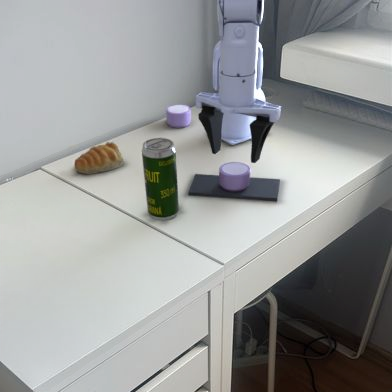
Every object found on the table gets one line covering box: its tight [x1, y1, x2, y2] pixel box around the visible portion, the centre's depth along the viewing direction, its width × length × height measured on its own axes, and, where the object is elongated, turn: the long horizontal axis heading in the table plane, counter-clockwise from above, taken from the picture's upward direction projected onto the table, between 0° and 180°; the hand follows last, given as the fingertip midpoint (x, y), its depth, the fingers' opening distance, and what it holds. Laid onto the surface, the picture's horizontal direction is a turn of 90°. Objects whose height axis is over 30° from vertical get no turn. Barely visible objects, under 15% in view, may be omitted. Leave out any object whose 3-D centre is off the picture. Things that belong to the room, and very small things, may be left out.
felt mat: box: [187, 173, 281, 202], centre depth 92 cm, size 16×7×1 cm, turn 80°
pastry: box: [74, 141, 125, 175], centre depth 99 cm, size 9×7×4 cm
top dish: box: [218, 161, 251, 192], centre depth 91 cm, size 6×6×3 cm
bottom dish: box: [165, 104, 192, 129], centre depth 113 cm, size 6×6×3 cm
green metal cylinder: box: [141, 137, 180, 221], centre depth 83 cm, size 5×5×12 cm
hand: (235, 156), depth 88 cm, fingers open, 7 cm apart
